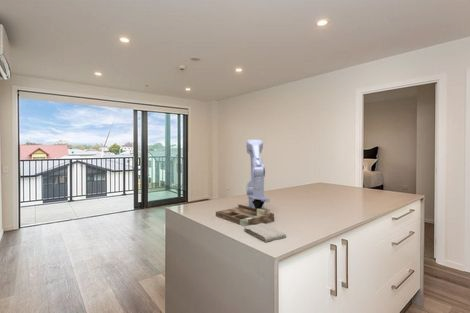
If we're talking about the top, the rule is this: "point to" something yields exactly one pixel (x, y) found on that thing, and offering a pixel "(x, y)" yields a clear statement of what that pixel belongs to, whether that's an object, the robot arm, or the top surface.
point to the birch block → (262, 212)
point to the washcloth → (264, 232)
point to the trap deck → (244, 216)
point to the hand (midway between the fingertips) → (258, 213)
